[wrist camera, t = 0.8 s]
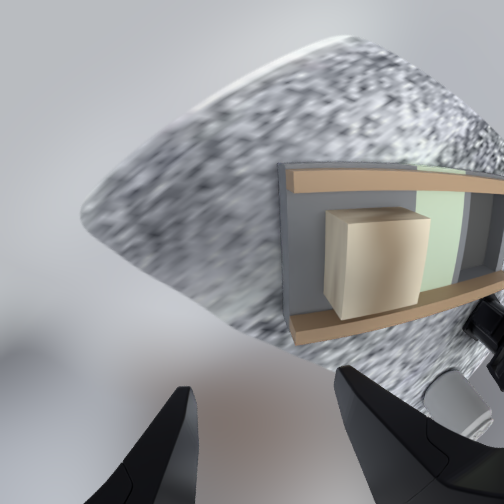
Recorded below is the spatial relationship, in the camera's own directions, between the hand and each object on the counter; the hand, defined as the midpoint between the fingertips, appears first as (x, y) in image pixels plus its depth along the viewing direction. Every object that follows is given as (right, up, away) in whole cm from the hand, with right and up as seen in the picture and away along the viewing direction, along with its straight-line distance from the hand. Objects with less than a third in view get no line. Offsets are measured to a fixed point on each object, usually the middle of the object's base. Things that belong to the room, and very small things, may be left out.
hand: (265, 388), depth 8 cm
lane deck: (+15, +6, +13) cm, 21 cm away
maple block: (+7, +4, +10) cm, 14 cm away
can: (+28, -16, +23) cm, 40 cm away
